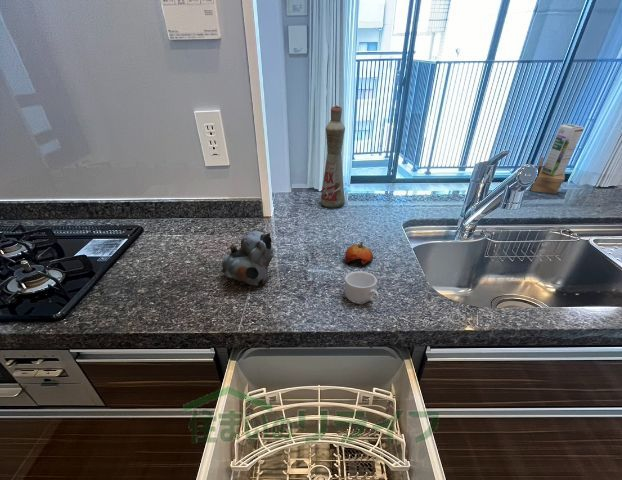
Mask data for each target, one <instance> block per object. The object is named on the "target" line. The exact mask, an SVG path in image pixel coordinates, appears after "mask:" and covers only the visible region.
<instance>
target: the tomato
mask: <svg viewBox="0 0 622 480" xmlns="http://www.w3.org/2000/svg"><path fill="white" fill-rule="evenodd" d="M344 254H345V255H344V260H345V263H346V264H348V266H349V262H353V261H357V259H361V260H360V261H361V263H362V265H365V264H366V263H367V264H368V262H371V261H373V260H374V254H373V251H372V250H371V249H370V248H368V247H366V246H364V242H363V241H361V242H359V243H358V244H352V245H351V246H349V247H348V248H347V249H346V251H345V253H344Z"/></svg>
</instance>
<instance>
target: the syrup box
mask: <svg viewBox="0 0 622 480" xmlns="http://www.w3.org/2000/svg"><path fill="white" fill-rule="evenodd" d="M584 129H585V126H580V125H578V124H577V125H576V124H573V123H564V124H560V126H559V127H558V131H557V133H556V135H555V138H554V140H553V143H552V145H551V148H550V151H549V153H548V155H547V157H546V159H545V162H544V163H543V164H544V165H543V166H542V168H543V169H542V172H544V173H546V174H549V175H551V176H556V175H561V174H564V171H565V172H566V169H567V167H568V165H569V163H570V161H571V158H572V156H573V154H574V151H575V150H576V148H577V145H578V143H579V141H580V139H581V136H582V134H583V132H584Z"/></svg>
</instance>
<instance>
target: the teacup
mask: <svg viewBox="0 0 622 480" xmlns="http://www.w3.org/2000/svg"><path fill="white" fill-rule="evenodd" d="M377 284H378V278H377V277H376V276H375V275H374V274H372V273H370V272H368V271H362V270H361V271H360V270H357V271H352V272H351V271H350V272H349V273H347V274H346V275H345V277H344V294H345V296H346V298H347V299H348V301H350V302H351V303H353V304H356V305H363V304H366V303H369V302H376V301H378V300H379V297H380V295H379V292H378V291H377V290H376V289H377ZM374 295H376V297H375V298H374ZM353 301H354V302H353ZM366 301H367V302H366ZM357 302H364V303H357Z"/></svg>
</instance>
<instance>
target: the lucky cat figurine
mask: <svg viewBox="0 0 622 480" xmlns="http://www.w3.org/2000/svg"><path fill="white" fill-rule="evenodd" d="M229 250H230V253H229V255H226V256H225V257H224V259H223V260H222V267H221V268H222V269H220V272H221V273H223V276H224V277H226V278H229V279H231V280H235V281H240V282H243V283H245V284H247V285H250V286H256V287H259V286H260V287H263V286H264V285H265V284H266V283H267V279H268V274H269V273H268V269H269V265H270V263H271V261H272V260H273V258H274V255H275V254H274V244H273V243H272V238H271V232H267V233H266V231H265V230H262V231H258V230H257V231H256V230H255V231H249V232H248V233H247V234H245V235H244V236H243V237H241V239H240V248H239V249H238V247H237V245H236V244H233V243H231V245H230V246H229Z"/></svg>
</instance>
